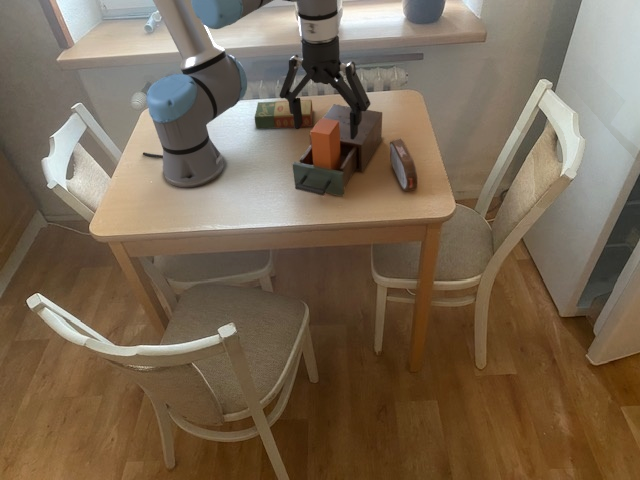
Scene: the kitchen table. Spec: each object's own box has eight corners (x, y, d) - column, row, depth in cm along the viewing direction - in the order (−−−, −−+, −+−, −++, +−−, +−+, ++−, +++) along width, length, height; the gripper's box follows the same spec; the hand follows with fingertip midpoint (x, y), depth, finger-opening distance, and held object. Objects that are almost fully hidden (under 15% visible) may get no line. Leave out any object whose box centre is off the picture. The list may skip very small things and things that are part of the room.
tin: (417, 197, 110) (420, 167, 104) (404, 199, 110) (406, 169, 104) (399, 159, 120) (401, 131, 114) (387, 161, 120) (388, 133, 114)
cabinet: (361, 172, 118) (361, 145, 112) (311, 161, 122) (309, 135, 116) (381, 139, 128) (382, 112, 122) (334, 130, 132) (333, 104, 126)
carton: (311, 127, 134) (310, 113, 131) (255, 129, 135) (253, 116, 132) (312, 111, 140) (311, 98, 137) (259, 114, 141) (256, 101, 138)
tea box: (331, 181, 113) (329, 134, 103) (314, 177, 114) (310, 131, 105) (341, 167, 116) (339, 120, 107) (324, 163, 118) (321, 117, 109)
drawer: (334, 209, 107) (333, 187, 103) (286, 197, 111) (283, 176, 107) (363, 161, 119) (363, 140, 115) (318, 152, 123) (317, 131, 119)
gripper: (254, 37, 94) (269, 130, 109) (374, 51, 85) (373, 150, 100) (272, 23, 98) (284, 114, 113) (387, 35, 90) (384, 131, 105)
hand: (326, 131), depth 107 cm, fingers open, 13 cm apart
